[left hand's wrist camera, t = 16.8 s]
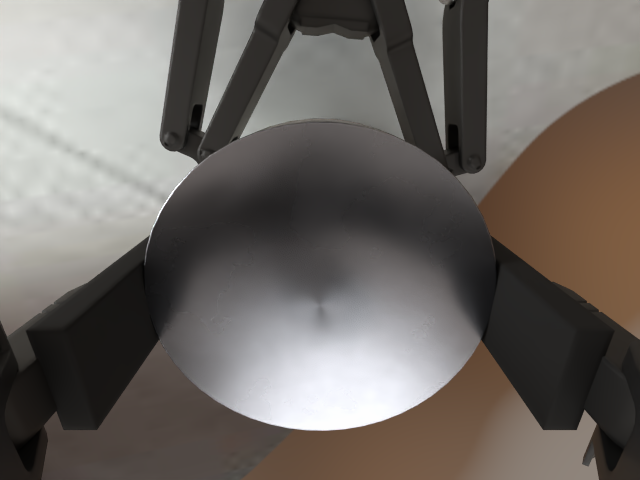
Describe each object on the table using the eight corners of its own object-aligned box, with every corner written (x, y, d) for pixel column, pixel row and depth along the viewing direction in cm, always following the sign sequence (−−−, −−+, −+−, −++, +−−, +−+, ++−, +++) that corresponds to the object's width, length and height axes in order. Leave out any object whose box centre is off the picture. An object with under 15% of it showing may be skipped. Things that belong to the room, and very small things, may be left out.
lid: (136, 322, 13) (102, 363, 11) (243, 49, 9) (222, 34, 7) (369, 416, 14) (378, 466, 12) (529, 213, 11) (575, 237, 9)
